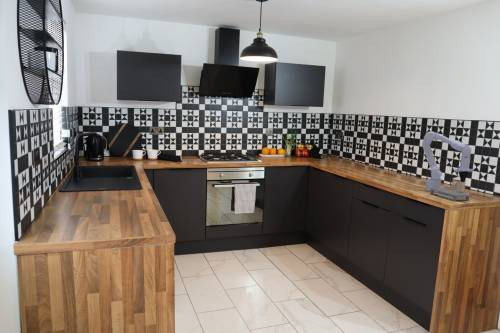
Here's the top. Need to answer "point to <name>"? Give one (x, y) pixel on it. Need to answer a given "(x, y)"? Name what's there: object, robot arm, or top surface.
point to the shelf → (450, 193)
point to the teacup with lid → (458, 185)
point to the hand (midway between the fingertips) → (462, 181)
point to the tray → (450, 196)
